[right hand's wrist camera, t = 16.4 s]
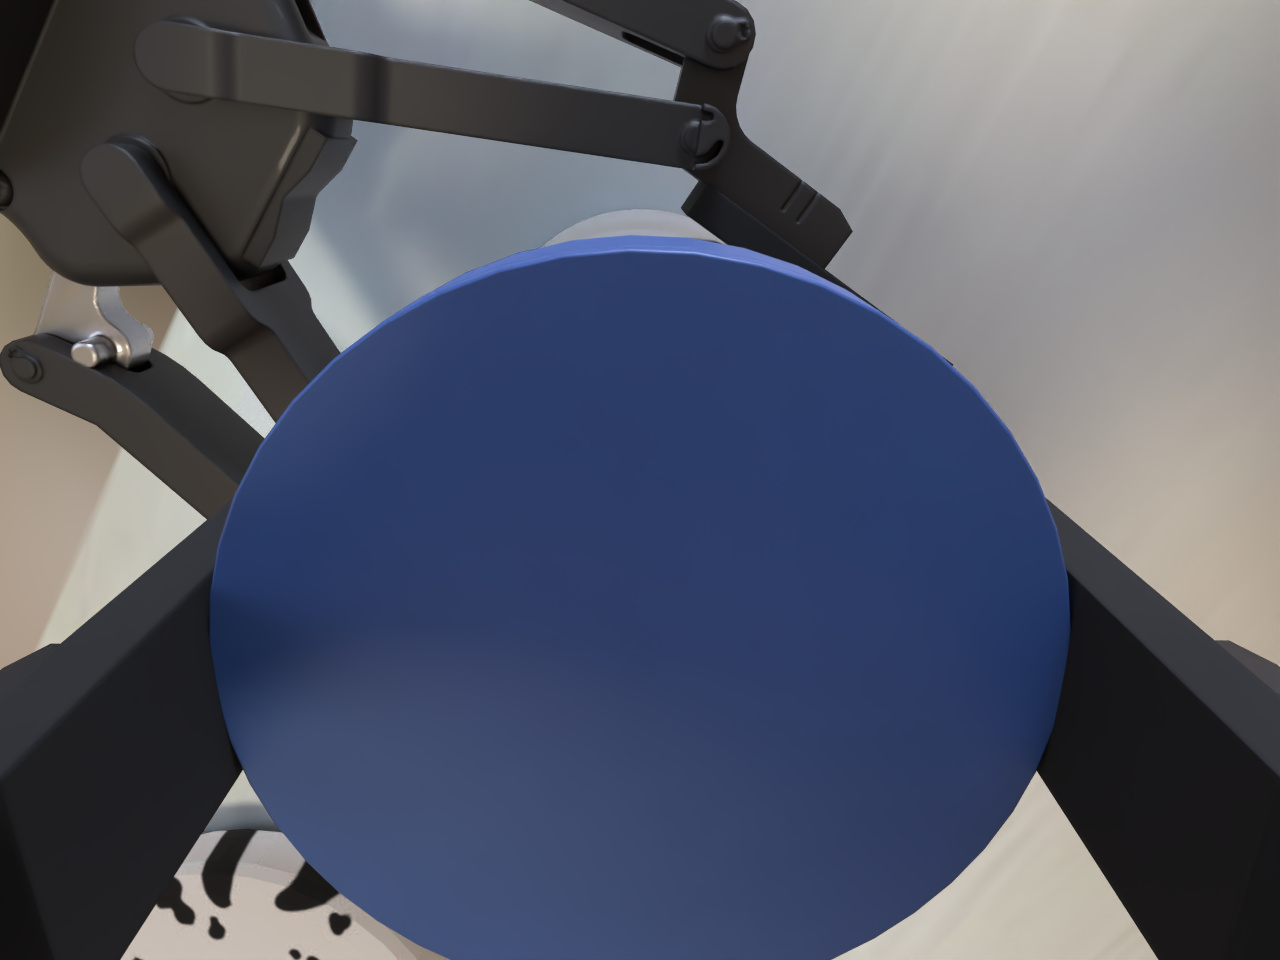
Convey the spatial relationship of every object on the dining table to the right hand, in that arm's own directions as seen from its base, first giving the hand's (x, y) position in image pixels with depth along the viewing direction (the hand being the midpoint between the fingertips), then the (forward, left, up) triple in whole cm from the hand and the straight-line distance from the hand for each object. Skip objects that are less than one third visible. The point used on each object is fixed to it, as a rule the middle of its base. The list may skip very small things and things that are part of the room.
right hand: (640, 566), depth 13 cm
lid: (0, 0, +3) cm, 3 cm away
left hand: (-1, -5, -8) cm, 9 cm away
